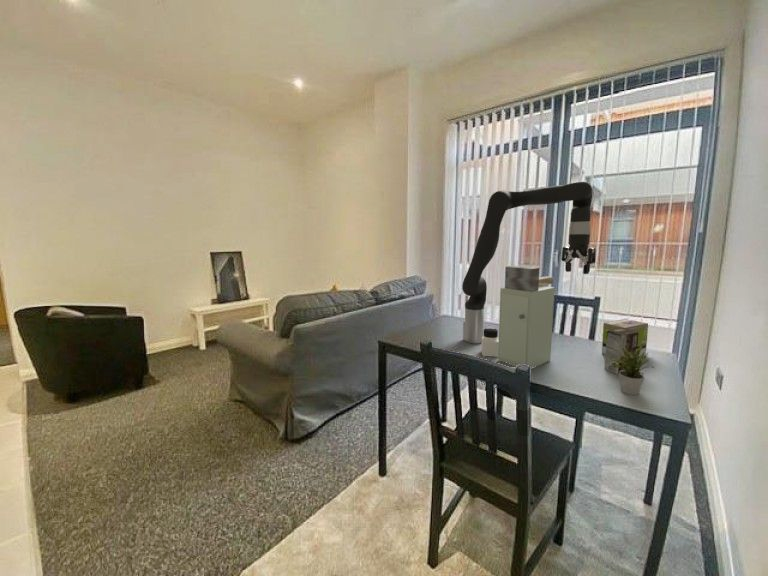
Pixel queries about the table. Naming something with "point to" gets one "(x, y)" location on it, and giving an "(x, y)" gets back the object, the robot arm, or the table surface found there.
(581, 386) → the table surface
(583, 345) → the table surface
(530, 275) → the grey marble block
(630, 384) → the house plant
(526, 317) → the cabinet
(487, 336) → the medicine bottle
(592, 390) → the table surface
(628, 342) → the coffee box
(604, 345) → the tea box
